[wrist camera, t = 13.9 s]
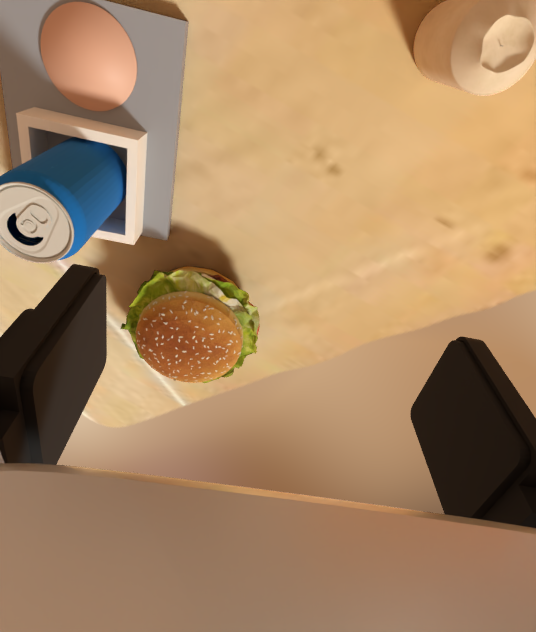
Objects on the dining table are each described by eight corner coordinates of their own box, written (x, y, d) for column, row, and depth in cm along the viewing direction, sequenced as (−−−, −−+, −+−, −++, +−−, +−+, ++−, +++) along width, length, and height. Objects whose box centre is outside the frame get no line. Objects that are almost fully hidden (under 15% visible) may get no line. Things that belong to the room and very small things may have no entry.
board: (-4, -28, 31) (-39, -36, 27) (188, 21, 32) (178, 20, 29) (24, 206, 41) (0, 223, 37) (169, 235, 42) (160, 254, 39)
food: (286, 299, 46) (289, 344, 40) (213, 372, 53) (205, 421, 46) (182, 224, 42) (165, 261, 35) (114, 314, 48) (89, 359, 41)
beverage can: (42, 165, 37) (-43, 216, 27) (88, 117, 35) (14, 153, 25) (99, 220, 40) (42, 284, 30) (146, 179, 38) (99, 234, 28)
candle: (422, 95, 35) (469, 115, 27) (403, 23, 32) (448, 21, 24) (491, 59, 33) (563, 69, 25) (476, -19, 31) (552, -37, 22)
